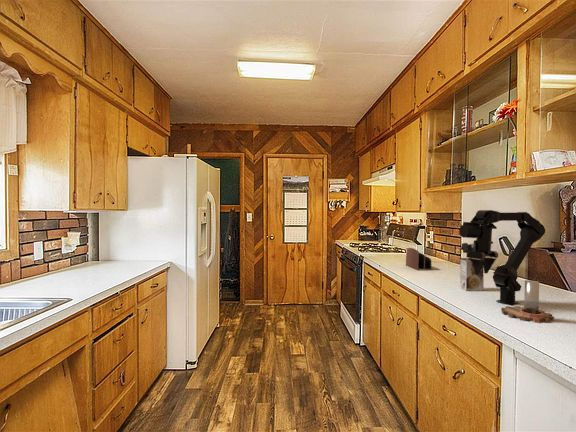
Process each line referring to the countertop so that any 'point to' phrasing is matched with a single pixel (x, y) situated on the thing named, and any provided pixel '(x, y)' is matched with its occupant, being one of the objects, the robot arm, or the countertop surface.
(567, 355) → the countertop surface
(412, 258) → the letter holder
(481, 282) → the coffee box
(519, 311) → the sprocket
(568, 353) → the countertop surface
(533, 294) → the drive pin
